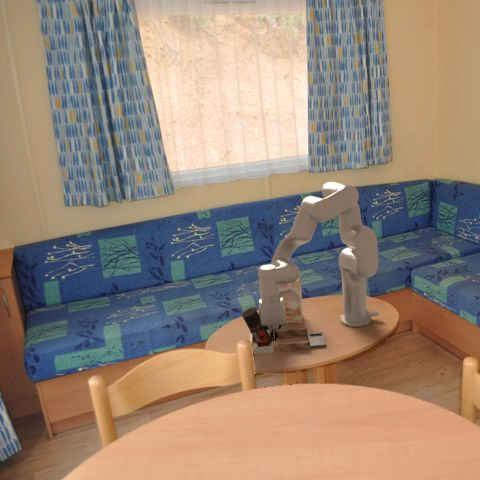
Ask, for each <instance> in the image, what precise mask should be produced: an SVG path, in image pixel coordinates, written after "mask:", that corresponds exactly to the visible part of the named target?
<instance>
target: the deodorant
mask: <svg viewBox="0 0 480 480" xmlns="http://www.w3.org/2000/svg"><path fill="white" fill-rule="evenodd" d="M241 316H242V318H243V320H244V322H245V324H246V327H248V330H249V331H250V332H249V333H251V334H252V336H253V337H254V339H253V340H254V341H255V343H256V345H257V347H264V346H271V343H273V339H271V337H270V336H269V334H268V332H269V331H268V330H267V329H265V326H262V324H261V321H260V317H259V311H257V308H255V307H250V308H249V307H248V308H247V309H245V311H244V310H243V312H242V313H241Z"/></svg>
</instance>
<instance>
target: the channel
mask: <svg viewBox="0 0 480 480" xmlns="http://www.w3.org/2000/svg"><path fill="white" fill-rule="evenodd" d="M306 336H307V337H308V327H302V328H301V327H300V328H291V329H290V328H289V329H280V330H279V331H278V338H277V339H281V338H282V339H283V338H292V337H293V338H294V337H295V338H296V337H306ZM304 350H305V351H306V350H312V348H311V347H310V341H309V340H307V341H295V342H292V341H291V342H281V343H278V352H291V351H292V352H294V351H304Z"/></svg>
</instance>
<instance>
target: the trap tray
mask: <svg viewBox="0 0 480 480" xmlns="http://www.w3.org/2000/svg"><path fill="white" fill-rule="evenodd" d="M307 339H308V341H310V347H311V349H315V348H327V343H326V339H325V336H324V333H323V331H321V332H309V333H308V336H307Z"/></svg>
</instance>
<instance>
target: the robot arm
mask: <svg viewBox="0 0 480 480" xmlns="http://www.w3.org/2000/svg"><path fill="white" fill-rule="evenodd" d="M321 194H322V197H323V198H321V197H317V196H306V197H305V198H304V199H303V200H302V201H301V203H300V205H299V208H298V211H297V213H296V216H295V218H294V221H293V223H292V226H291V228H290V230H289V233H288V234H287V235H286V236H284V238H282V240H281V241H280V242H279V244H278V245H277V247H276V249H275V250H274V253H273V256H272V258H271V262H270V264H264V265H261V266H260V267H259V268H258V271H257V274H258V282H259V290H260V291H259V293H260V294H259V295H260V299H259V300H258V301H259V302H258V314H259V317H260V321H261V324H262V326H265V329H266V330H267V332H270V337H271V339H272V343H276V342H278V340H277V339H279V338H278V331H279V330H281V329H282V328H285V327H287V325H288V323H287V322H286V314H285V307H284V302H283V299H282V298H281V297H283V296H284V293H281V292H280V285H279V284H283V283H293V282H295V281H297V280H298V279H299V277H300V278H301V275H302V274H301V269H300V268H299V266H298V265H297V264H295V263H293V262H292V261H290V260H291V258H292V255H293V253H294V252H295V251H296V249H298V247H300V246H302V245H305V244H307V243H309V242H311V241H312V238H313V236H314V233H315V231H316V228H317V226H318V225H319V223H327V222H329V221H332V220H333V219H336V218H337V217H338V223H339V224H338V226H339V236H340V237H339V238H340V240H341V242H342V244H344V245H346V246H348V247H345V248H343V249H342V250H341V251H340V253H339V256H338V265H339V270H340V274H341V287H342V288H341V289H342V308H343V309H342V310H343V311H342V312H343V314H341V315H340V316H339V321H340V323H342V324H343V325H345V326H348V327H353V328H354V327H355V328H356V327H359V328H361V327H364V326H367V325H369V324H370V323H371V322H372V317H379V315H380V312H379V311H378V310H377V311H376V310H375V309H368V305H367V304H368V301H367V281H366V280H367V279H368V278H372V277H373V276H374V275H375V274H376V273H377V271H378V267H379V250H378V238H377V235H376V233H375V231H374V229H372V228H371V227H369V226H366V225H364V224H363V222H362V215H361V208H360V204H359V202H358V200H359V197H360V194H359V191H358V189H357V188H356V187H355V186H353V185H351V184H347V183H342V182H339V181H329V182H326V183H325V184H323V186H322V189H321ZM272 326H274V328H273V327H272Z"/></svg>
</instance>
